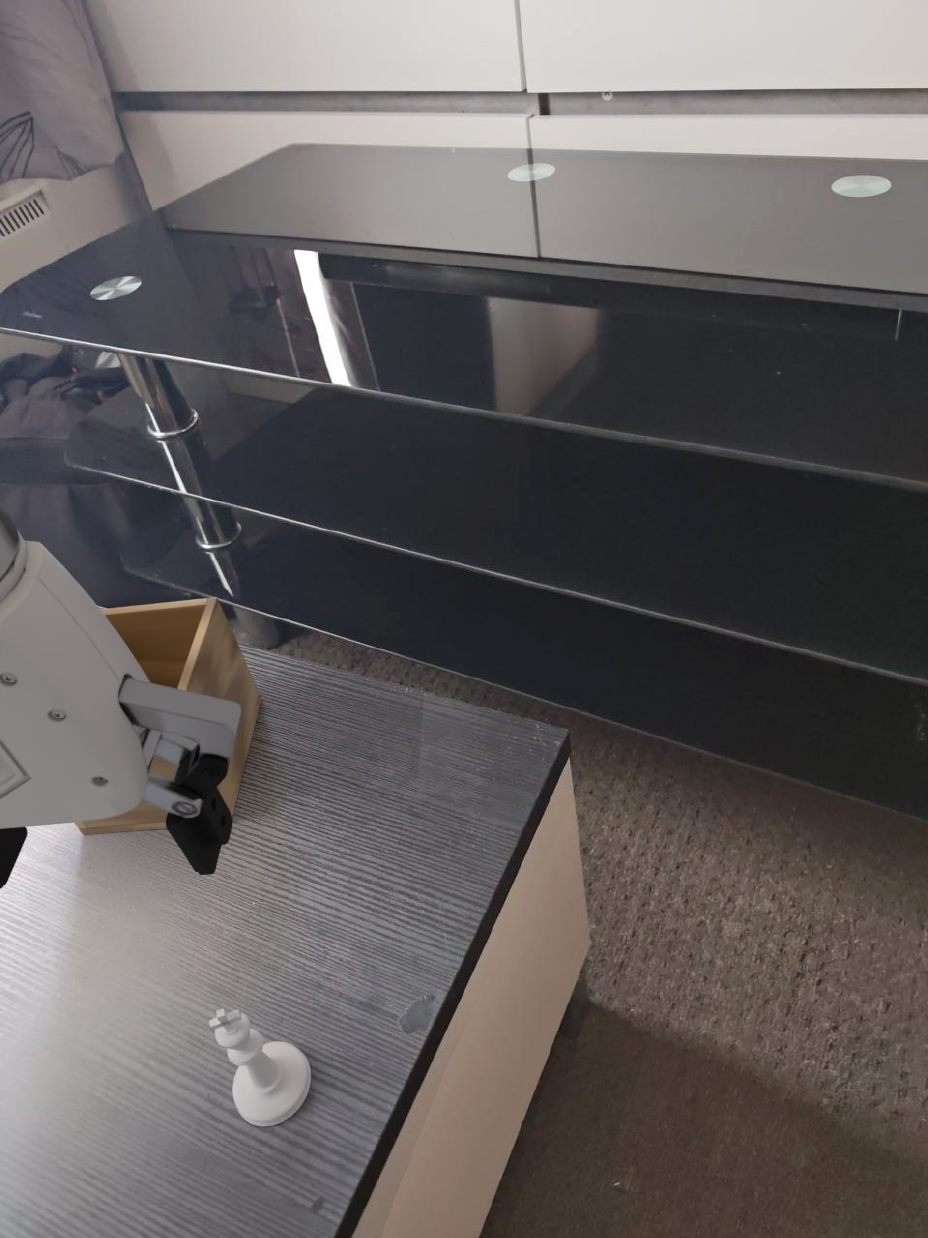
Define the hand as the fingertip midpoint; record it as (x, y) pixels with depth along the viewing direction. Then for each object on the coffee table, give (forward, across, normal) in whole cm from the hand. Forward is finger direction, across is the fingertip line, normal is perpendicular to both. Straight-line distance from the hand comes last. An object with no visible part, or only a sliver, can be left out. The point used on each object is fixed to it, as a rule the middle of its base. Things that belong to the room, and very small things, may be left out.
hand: (111, 853), depth 41 cm
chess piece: (+26, 0, 0) cm, 26 cm away
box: (+26, -14, +26) cm, 39 cm away
